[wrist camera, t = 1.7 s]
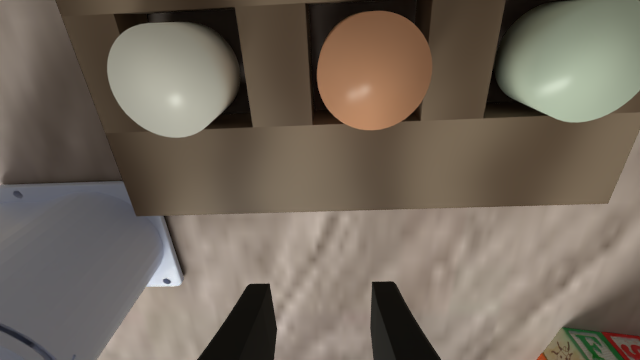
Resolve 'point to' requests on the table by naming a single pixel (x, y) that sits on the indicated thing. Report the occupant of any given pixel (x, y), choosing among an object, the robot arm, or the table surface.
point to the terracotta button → (374, 69)
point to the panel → (342, 140)
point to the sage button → (572, 58)
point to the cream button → (173, 76)
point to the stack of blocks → (591, 346)
